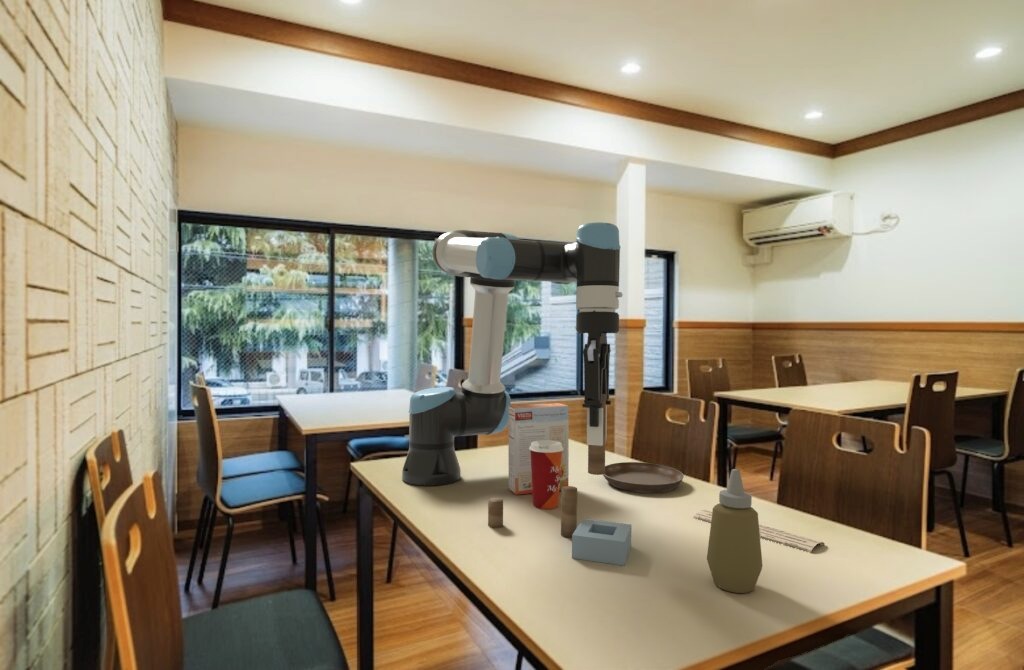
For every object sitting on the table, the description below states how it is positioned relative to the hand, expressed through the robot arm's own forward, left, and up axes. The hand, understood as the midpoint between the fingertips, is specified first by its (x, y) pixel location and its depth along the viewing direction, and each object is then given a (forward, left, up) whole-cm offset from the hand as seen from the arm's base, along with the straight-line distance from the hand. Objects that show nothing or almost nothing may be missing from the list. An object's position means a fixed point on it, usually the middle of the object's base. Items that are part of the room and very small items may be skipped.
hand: (596, 442), depth 101 cm
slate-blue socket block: (0, +1, -19) cm, 19 cm away
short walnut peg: (-6, -21, -19) cm, 29 cm away
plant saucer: (-48, +3, -20) cm, 52 cm away
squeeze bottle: (+6, +23, -20) cm, 31 cm away
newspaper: (-21, +28, -20) cm, 41 cm away
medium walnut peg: (-6, -6, -19) cm, 21 cm away
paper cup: (-22, -15, -20) cm, 33 cm away
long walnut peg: (0, 0, -5) cm, 5 cm away
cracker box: (-33, -20, -20) cm, 43 cm away
